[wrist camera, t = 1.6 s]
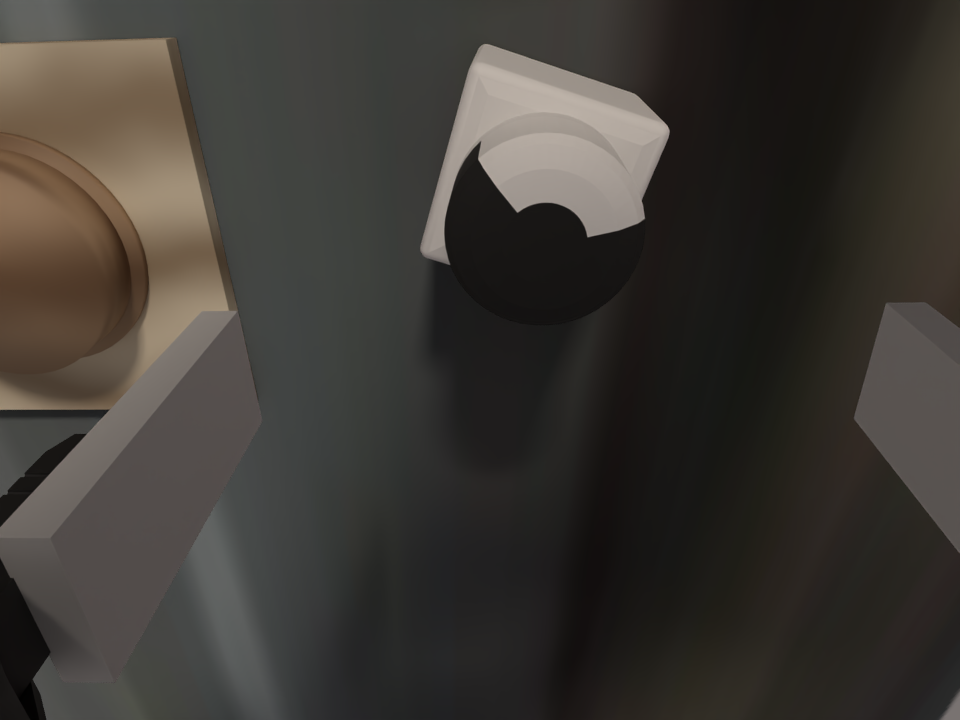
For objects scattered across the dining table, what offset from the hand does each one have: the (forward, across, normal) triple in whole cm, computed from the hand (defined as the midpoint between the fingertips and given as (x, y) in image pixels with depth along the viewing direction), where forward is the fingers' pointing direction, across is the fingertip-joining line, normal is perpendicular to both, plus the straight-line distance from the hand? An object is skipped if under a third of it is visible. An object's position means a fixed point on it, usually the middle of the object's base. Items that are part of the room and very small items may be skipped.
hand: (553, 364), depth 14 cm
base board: (+19, -24, -4) cm, 30 cm away
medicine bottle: (+19, 0, 0) cm, 19 cm away
